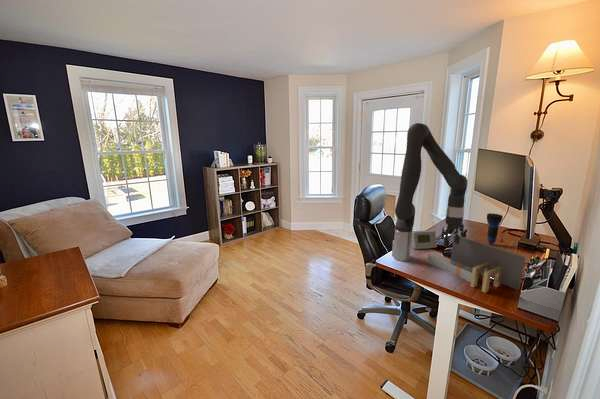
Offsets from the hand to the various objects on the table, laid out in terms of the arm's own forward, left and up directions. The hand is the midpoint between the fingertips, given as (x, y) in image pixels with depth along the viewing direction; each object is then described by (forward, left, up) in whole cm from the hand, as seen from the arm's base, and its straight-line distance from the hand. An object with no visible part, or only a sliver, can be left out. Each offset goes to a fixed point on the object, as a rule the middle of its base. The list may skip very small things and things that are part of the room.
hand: (451, 245), depth 135 cm
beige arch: (+15, 0, -14) cm, 21 cm away
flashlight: (-8, +55, -14) cm, 57 cm away
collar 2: (+20, 0, -14) cm, 25 cm away
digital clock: (-26, +14, -14) cm, 33 cm away
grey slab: (+1, 0, -14) cm, 14 cm away
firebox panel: (+11, +10, -14) cm, 20 cm away
